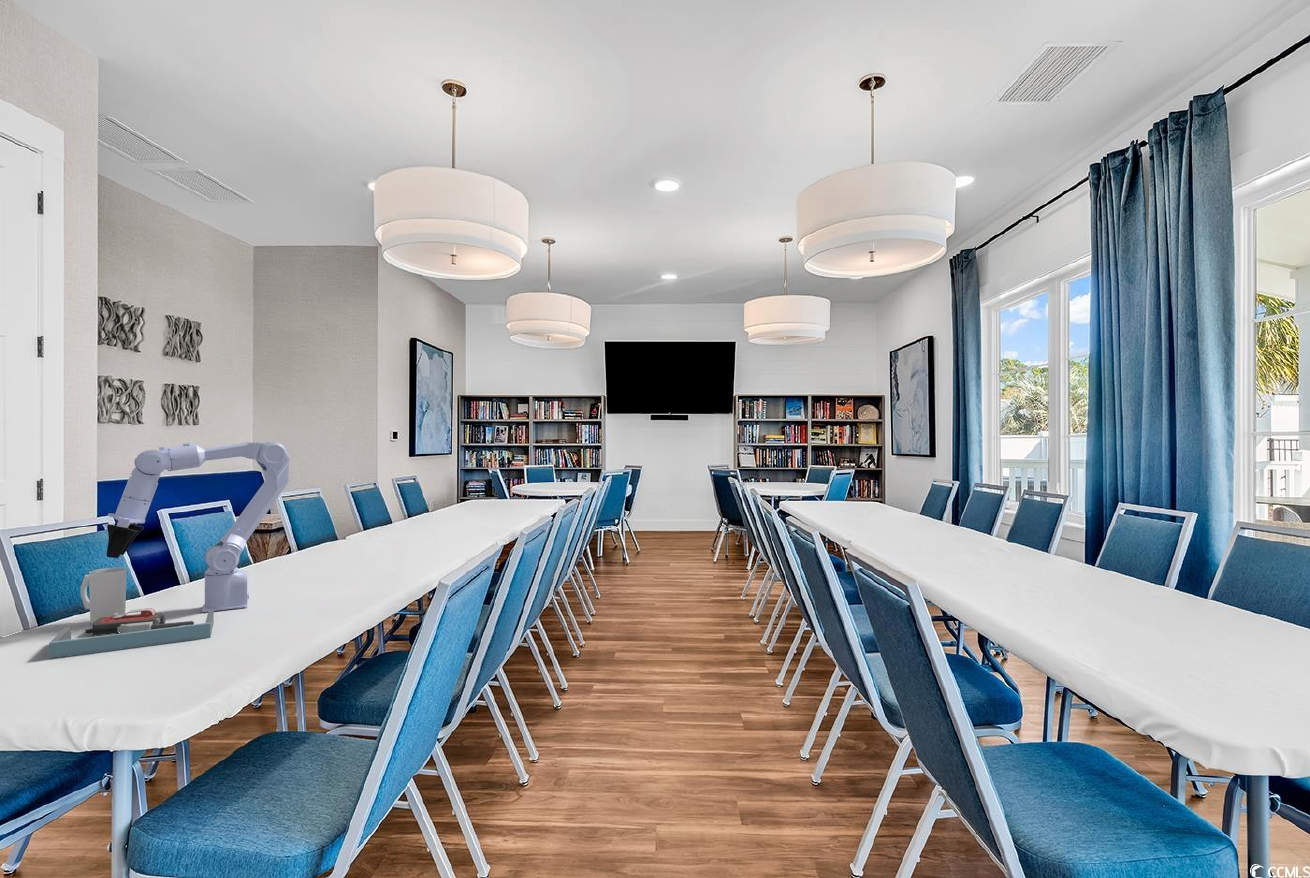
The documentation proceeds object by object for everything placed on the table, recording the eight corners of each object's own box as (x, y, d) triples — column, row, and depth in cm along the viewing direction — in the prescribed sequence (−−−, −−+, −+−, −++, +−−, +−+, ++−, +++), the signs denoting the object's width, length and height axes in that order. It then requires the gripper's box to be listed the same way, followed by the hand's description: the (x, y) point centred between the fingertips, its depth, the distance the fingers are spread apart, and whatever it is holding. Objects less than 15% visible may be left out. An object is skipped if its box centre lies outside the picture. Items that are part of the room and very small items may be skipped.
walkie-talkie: (80, 641, 139) (192, 630, 147) (80, 620, 139) (192, 610, 147) (96, 630, 147) (202, 620, 155) (96, 610, 147) (202, 601, 155)
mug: (134, 617, 156) (134, 567, 156) (108, 625, 149) (108, 573, 149) (94, 617, 157) (94, 567, 157) (67, 624, 150) (67, 572, 150)
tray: (213, 623, 151) (213, 610, 151) (210, 637, 140) (210, 623, 140) (64, 642, 137) (64, 627, 137) (48, 658, 127) (48, 643, 127)
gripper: (121, 494, 159) (100, 549, 156) (110, 495, 146) (87, 555, 144) (156, 501, 162) (135, 555, 160) (148, 503, 150) (126, 561, 147)
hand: (115, 555), depth 152 cm, fingers open, 7 cm apart
